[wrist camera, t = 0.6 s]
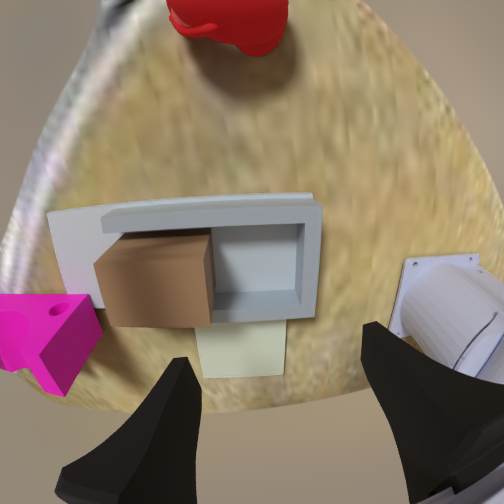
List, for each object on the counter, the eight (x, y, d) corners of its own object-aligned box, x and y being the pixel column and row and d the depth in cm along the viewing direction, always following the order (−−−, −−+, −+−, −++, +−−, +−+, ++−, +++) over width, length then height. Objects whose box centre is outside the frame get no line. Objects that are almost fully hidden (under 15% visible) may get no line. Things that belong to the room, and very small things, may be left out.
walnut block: (211, 228, 18) (203, 259, 14) (215, 283, 20) (211, 327, 15) (124, 233, 18) (93, 263, 13) (134, 285, 20) (110, 326, 15)
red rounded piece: (125, 11, 10) (166, 41, 9) (185, -66, 7) (250, -60, 6) (216, 44, 17) (267, 82, 16) (264, -13, 13) (326, 17, 12)
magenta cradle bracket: (11, 341, 22) (-22, 383, 15) (-11, 293, 20) (-52, 331, 13) (112, 354, 22) (81, 419, 15) (88, 293, 19) (38, 355, 13)
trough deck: (310, 192, 18) (322, 201, 16) (305, 298, 21) (314, 320, 19) (51, 211, 18) (30, 222, 15) (74, 303, 21) (60, 321, 18)
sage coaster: (285, 305, 21) (286, 309, 21) (282, 369, 24) (283, 374, 24) (192, 309, 21) (192, 314, 21) (204, 373, 24) (203, 378, 23)
